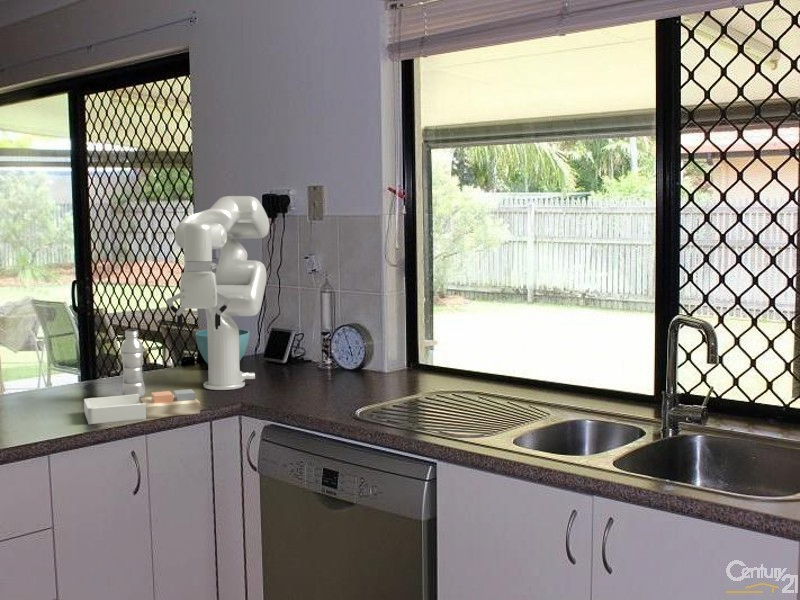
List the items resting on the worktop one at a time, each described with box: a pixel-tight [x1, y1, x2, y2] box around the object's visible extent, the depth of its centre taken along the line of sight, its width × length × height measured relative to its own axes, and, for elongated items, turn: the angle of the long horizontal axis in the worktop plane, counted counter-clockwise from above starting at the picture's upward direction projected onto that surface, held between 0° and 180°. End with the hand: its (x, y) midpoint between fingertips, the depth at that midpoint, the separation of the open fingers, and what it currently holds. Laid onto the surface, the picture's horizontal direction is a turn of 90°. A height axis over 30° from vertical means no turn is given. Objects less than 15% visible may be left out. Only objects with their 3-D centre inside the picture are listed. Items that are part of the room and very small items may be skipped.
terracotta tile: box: [150, 390, 174, 403], centre depth 239 cm, size 5×5×2 cm
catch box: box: [83, 394, 147, 425], centre depth 235 cm, size 14×13×4 cm
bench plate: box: [139, 394, 201, 419], centre depth 241 cm, size 14×12×3 cm
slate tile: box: [173, 388, 196, 401], centre depth 242 cm, size 5×5×2 cm
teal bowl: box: [195, 328, 250, 365], centre depth 304 cm, size 18×18×12 cm
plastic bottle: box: [119, 329, 146, 398], centre depth 255 cm, size 6×7×20 cm
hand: (199, 329), depth 245 cm, fingers open, 9 cm apart
